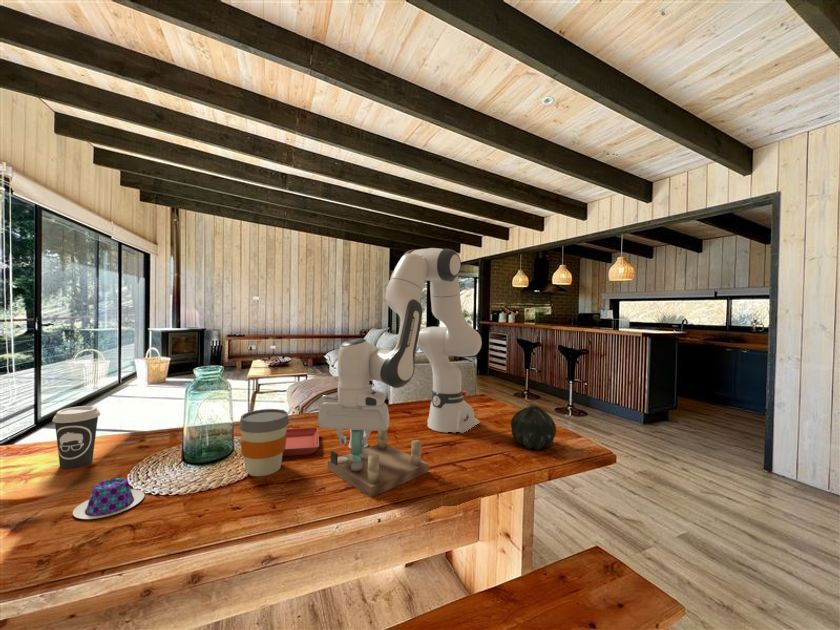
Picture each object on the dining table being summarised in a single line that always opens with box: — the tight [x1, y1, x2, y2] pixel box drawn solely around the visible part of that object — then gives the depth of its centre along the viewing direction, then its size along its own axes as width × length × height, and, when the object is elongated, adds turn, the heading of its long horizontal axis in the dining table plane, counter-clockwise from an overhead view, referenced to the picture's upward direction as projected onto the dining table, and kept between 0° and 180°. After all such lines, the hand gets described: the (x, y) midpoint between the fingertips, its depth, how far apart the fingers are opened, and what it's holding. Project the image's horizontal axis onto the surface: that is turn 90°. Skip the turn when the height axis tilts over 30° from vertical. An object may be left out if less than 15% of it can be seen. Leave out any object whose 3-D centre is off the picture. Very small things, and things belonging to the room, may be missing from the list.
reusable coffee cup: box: [238, 408, 289, 477], centre depth 98 cm, size 13×13×15 cm
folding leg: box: [350, 430, 363, 471], centre depth 97 cm, size 11×3×8 cm, turn 11°
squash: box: [510, 405, 557, 451], centre depth 122 cm, size 14×15×15 cm
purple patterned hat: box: [72, 477, 145, 520], centre depth 79 cm, size 12×12×5 cm
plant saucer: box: [282, 427, 320, 457], centre depth 114 cm, size 18×18×3 cm
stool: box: [327, 428, 429, 498], centre depth 99 cm, size 20×20×8 cm
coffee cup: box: [52, 405, 101, 470], centre depth 98 cm, size 10×10×15 cm
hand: (353, 443), depth 101 cm, fingers open, 5 cm apart
